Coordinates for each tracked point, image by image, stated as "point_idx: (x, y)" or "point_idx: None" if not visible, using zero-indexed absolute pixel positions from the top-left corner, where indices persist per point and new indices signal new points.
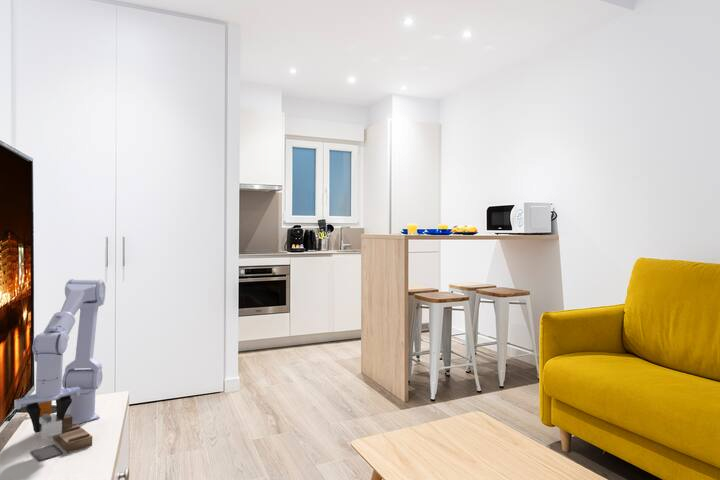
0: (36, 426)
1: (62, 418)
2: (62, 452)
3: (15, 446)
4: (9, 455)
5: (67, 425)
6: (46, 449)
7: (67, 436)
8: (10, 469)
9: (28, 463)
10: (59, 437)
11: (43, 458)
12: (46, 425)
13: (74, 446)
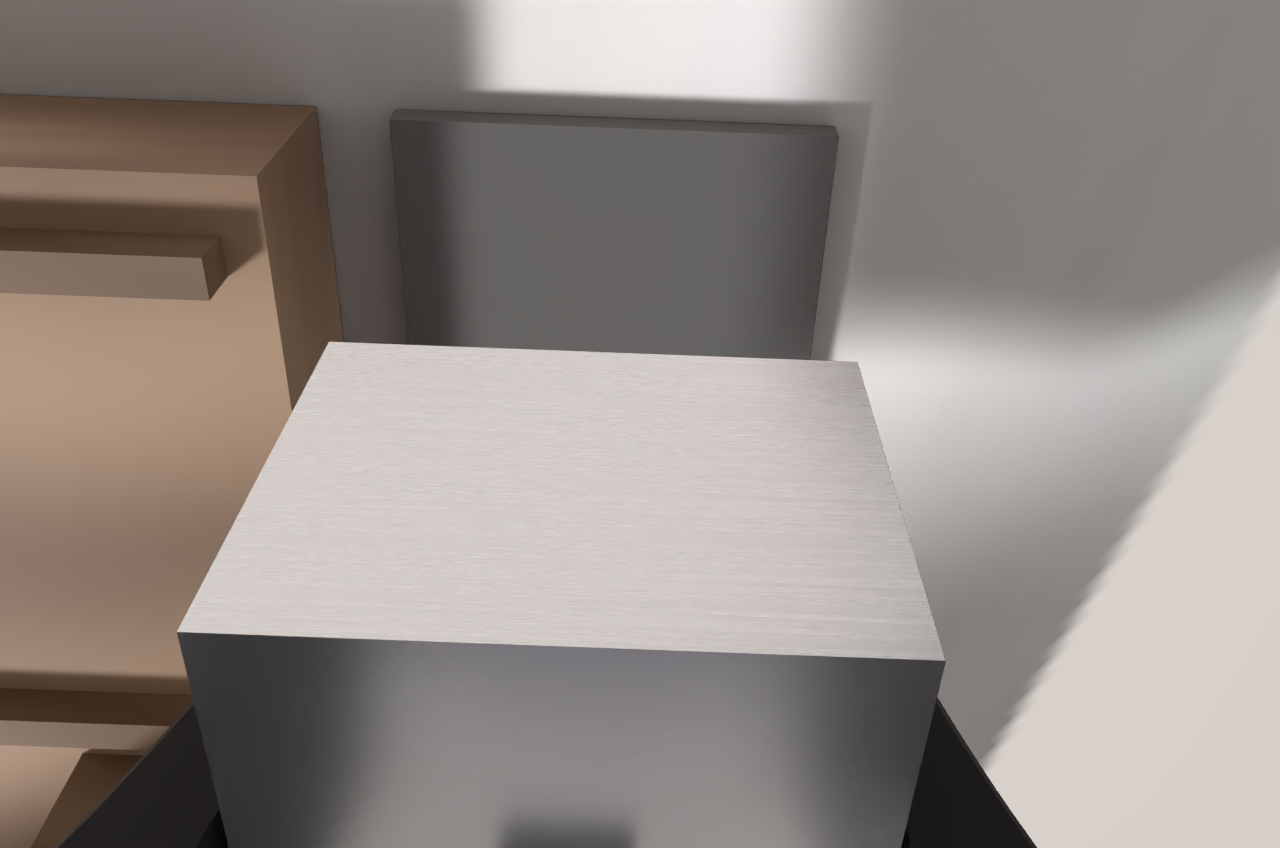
0: (980, 782)
1: (139, 789)
2: (402, 140)
3: None
4: (1009, 664)
5: None
6: None
7: (202, 519)
8: (1271, 196)
9: (976, 202)
10: None
11: (753, 147)
12: (768, 612)
13: (153, 134)
